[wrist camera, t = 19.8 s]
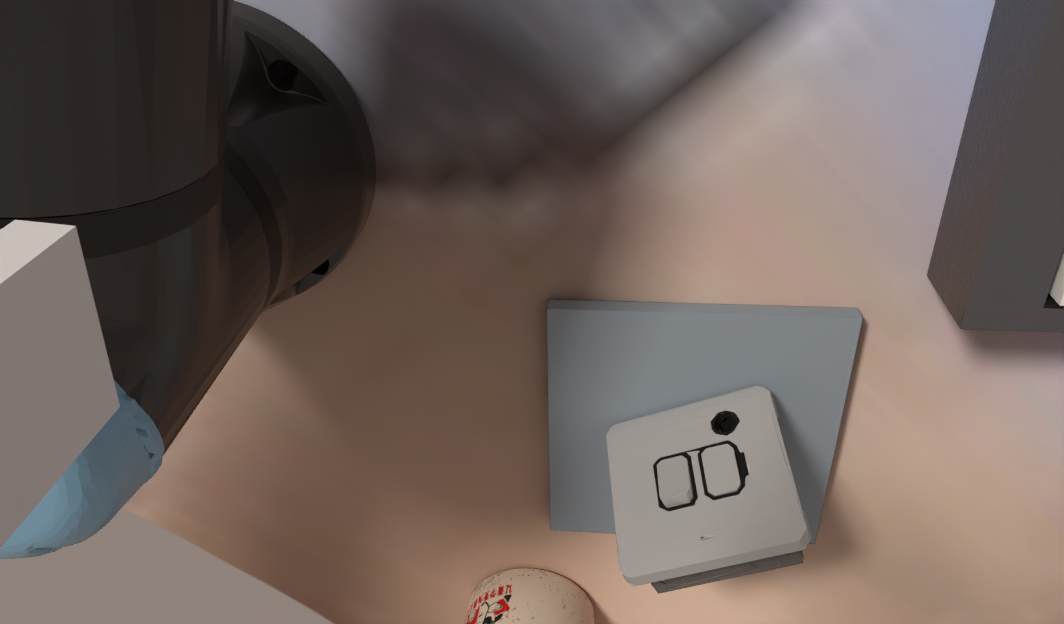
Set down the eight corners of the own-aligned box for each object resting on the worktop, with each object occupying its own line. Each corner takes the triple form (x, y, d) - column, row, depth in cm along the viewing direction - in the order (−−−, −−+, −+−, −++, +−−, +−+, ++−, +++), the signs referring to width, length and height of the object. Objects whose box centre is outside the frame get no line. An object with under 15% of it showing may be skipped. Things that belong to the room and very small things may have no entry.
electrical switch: (767, 377, 45) (802, 514, 38) (791, 442, 48) (828, 582, 40) (603, 422, 48) (605, 559, 40) (634, 481, 51) (641, 619, 43)
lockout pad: (551, 518, 53) (550, 529, 53) (548, 299, 45) (546, 308, 44) (811, 531, 52) (814, 543, 51) (858, 308, 44) (862, 318, 43)
